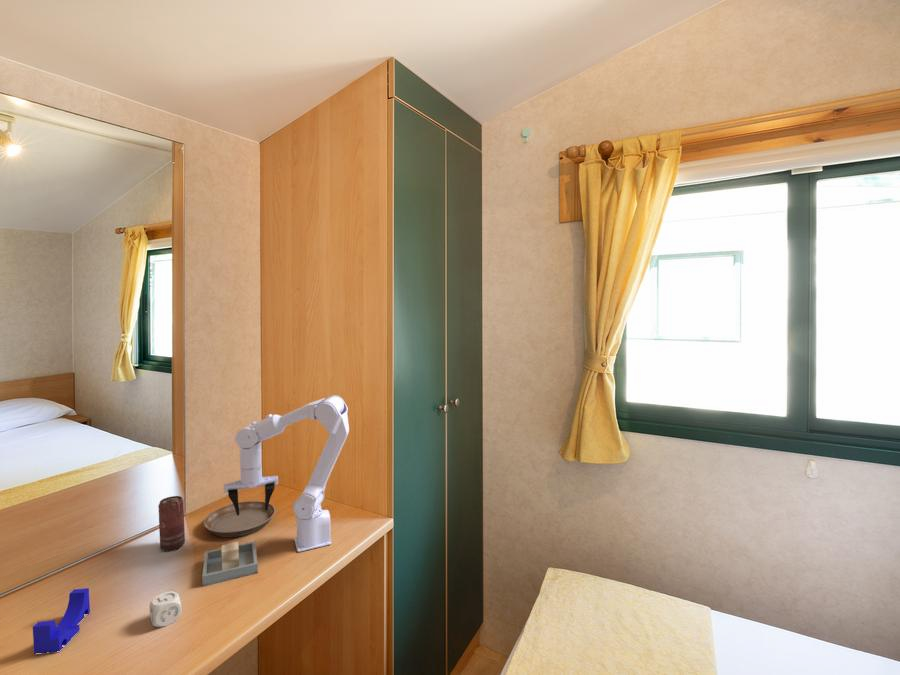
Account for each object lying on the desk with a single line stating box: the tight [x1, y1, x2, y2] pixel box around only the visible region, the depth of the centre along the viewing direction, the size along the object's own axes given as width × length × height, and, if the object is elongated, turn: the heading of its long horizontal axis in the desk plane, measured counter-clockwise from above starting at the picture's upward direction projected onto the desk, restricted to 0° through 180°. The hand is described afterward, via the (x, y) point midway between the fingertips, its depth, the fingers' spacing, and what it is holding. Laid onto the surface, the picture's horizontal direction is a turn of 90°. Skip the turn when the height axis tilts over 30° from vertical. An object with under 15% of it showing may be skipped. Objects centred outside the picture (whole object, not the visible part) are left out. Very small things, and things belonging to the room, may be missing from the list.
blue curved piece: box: [32, 587, 91, 654], centre depth 94 cm, size 12×4×6 cm, turn 9°
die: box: [148, 590, 182, 628], centre depth 98 cm, size 5×5×5 cm
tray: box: [201, 540, 259, 587], centre depth 118 cm, size 13×13×2 cm
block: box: [221, 541, 239, 570], centre depth 118 cm, size 4×4×5 cm
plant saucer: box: [203, 500, 276, 538], centre depth 142 cm, size 21×21×3 cm
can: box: [158, 495, 186, 552], centre depth 128 cm, size 6×6×14 cm
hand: (252, 511), depth 130 cm, fingers open, 7 cm apart
